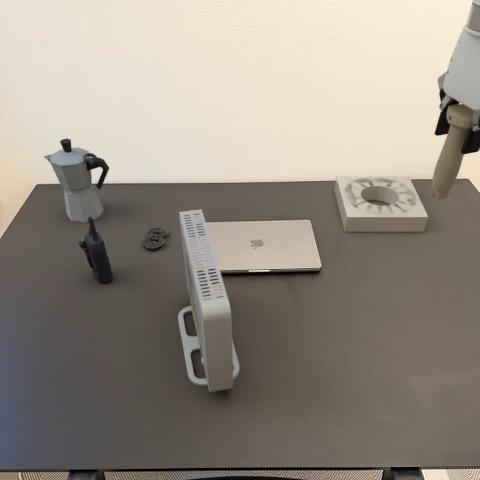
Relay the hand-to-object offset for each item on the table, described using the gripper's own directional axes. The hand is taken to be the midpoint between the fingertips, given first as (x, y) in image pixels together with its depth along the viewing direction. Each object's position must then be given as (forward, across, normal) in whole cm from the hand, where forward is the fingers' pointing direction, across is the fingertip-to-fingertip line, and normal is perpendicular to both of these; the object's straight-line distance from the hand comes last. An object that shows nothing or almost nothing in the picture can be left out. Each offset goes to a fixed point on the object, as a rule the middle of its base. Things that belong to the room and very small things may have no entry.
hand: (456, 142), depth 78 cm
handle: (+10, 0, 0) cm, 10 cm away
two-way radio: (+27, +18, +62) cm, 70 cm away
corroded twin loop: (+27, +27, +49) cm, 62 cm away
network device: (+27, -6, +47) cm, 54 cm away
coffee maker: (+27, +43, +62) cm, 80 cm away
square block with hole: (+27, +22, -4) cm, 35 cm away
